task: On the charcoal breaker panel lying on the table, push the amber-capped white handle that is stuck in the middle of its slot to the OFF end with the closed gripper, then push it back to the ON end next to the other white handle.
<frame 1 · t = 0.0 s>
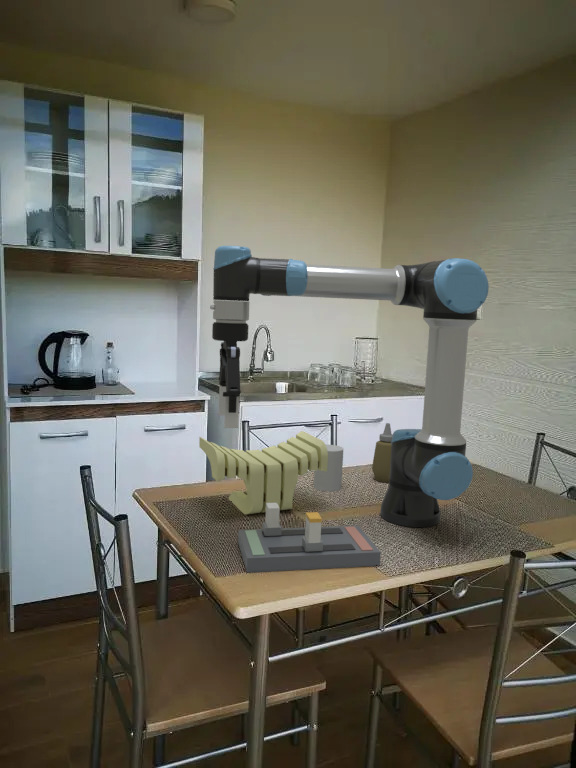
hand: (227, 421, 128), 28 cm above the table, tool pointing down, fingers open, 13 cm apart
squeeze bottle: (384, 480, 187), on the table
tripped handle: (312, 531, 124), point 7 cm above the table, slide at 0.0 cm
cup: (327, 488, 177), on the table
slatted curved stool: (261, 506, 159), on the table
breaker panel: (306, 553, 130), on the table
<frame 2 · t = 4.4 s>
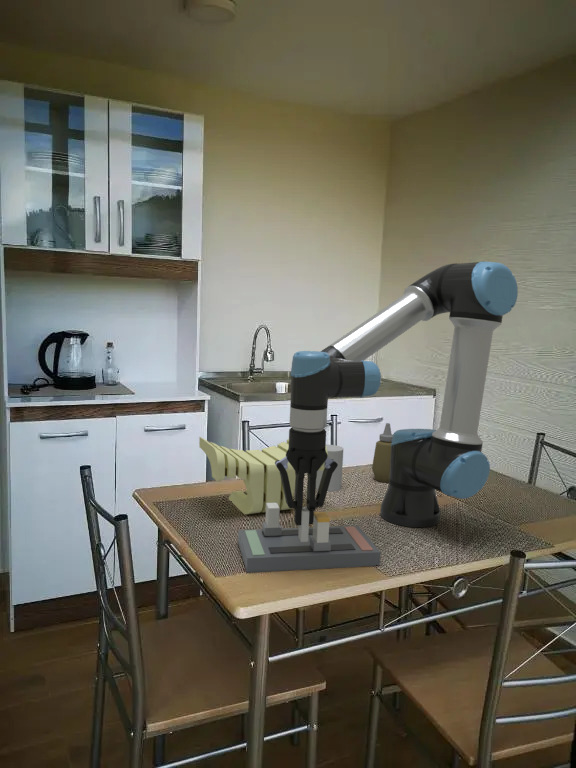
hand: (303, 539, 124), 5 cm above the table, tool pointing down, fingers closed
tripped handle: (320, 531, 125), point 7 cm above the table, slide at -1.7 cm, touching gripper
everything else where it was.
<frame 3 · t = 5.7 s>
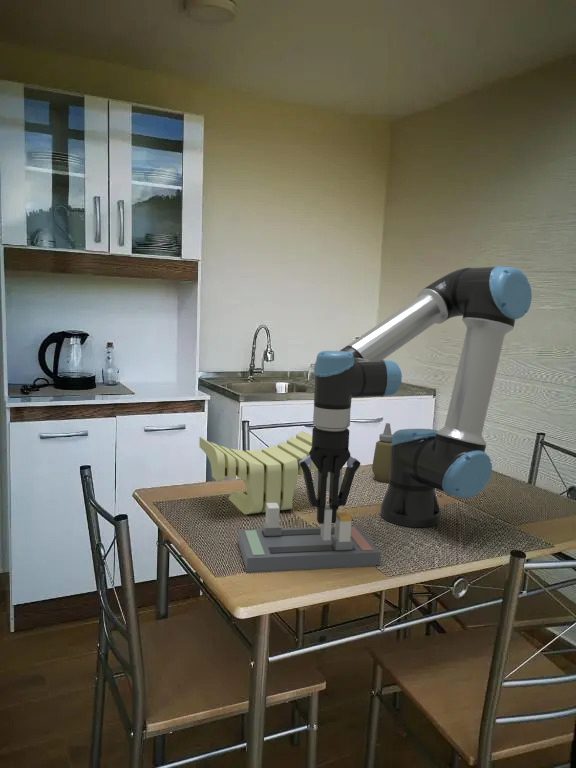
hand: (325, 537, 125), 5 cm above the table, tool pointing down, fingers closed
tripped handle: (342, 530, 126), point 7 cm above the table, slide at -6.4 cm, touching gripper
everything else where it was.
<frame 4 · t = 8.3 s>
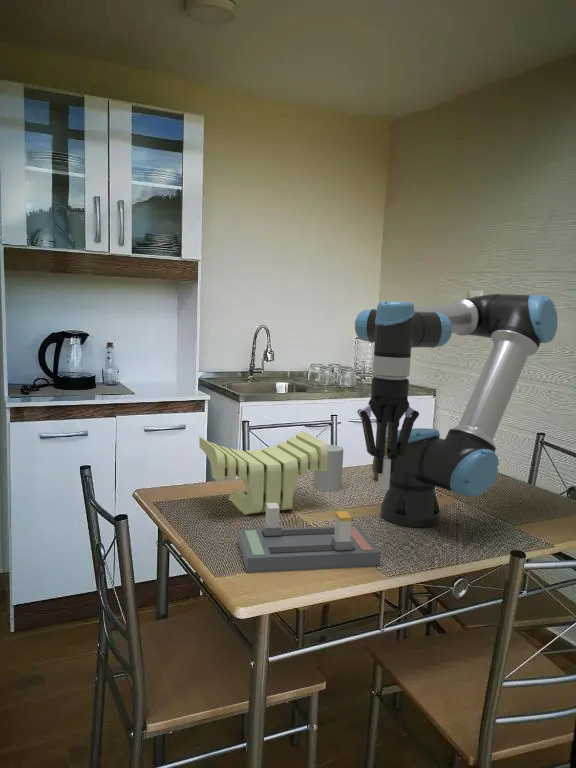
hand: (383, 487, 126), 16 cm above the table, tool pointing down, fingers closed
tripped handle: (342, 530, 126), point 7 cm above the table, slide at -6.4 cm
everything else where it was.
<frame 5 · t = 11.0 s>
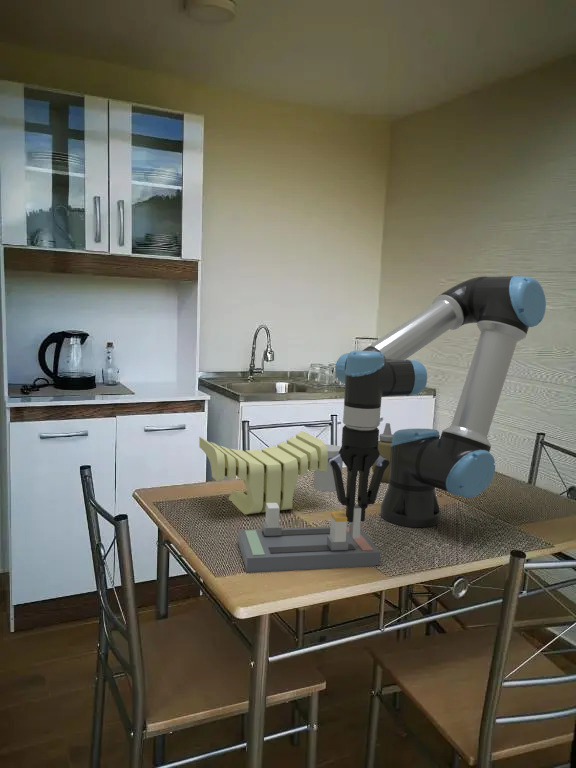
hand: (354, 535, 126), 6 cm above the table, tool pointing down, fingers closed
tripped handle: (338, 530, 126), point 7 cm above the table, slide at -5.4 cm, touching gripper
everything else where it was.
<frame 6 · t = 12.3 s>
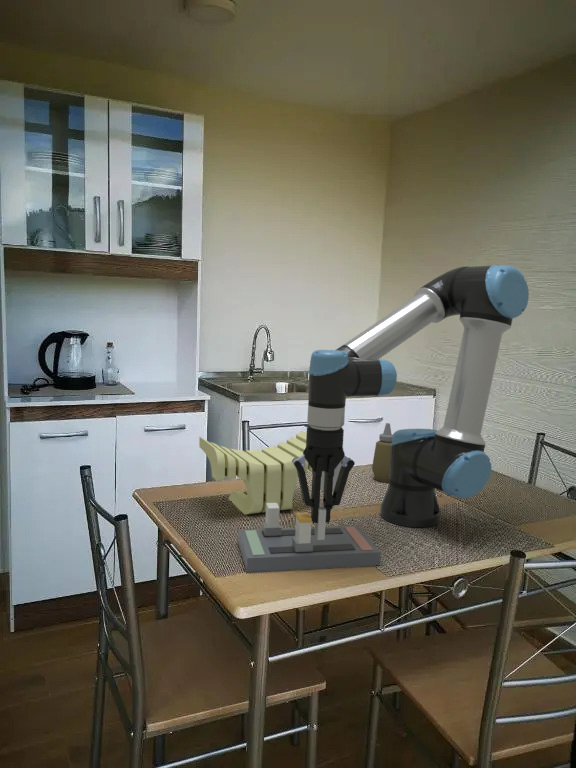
hand: (319, 537, 125), 6 cm above the table, tool pointing down, fingers closed
tripped handle: (303, 532, 124), point 7 cm above the table, slide at 2.1 cm, touching gripper
everything else where it was.
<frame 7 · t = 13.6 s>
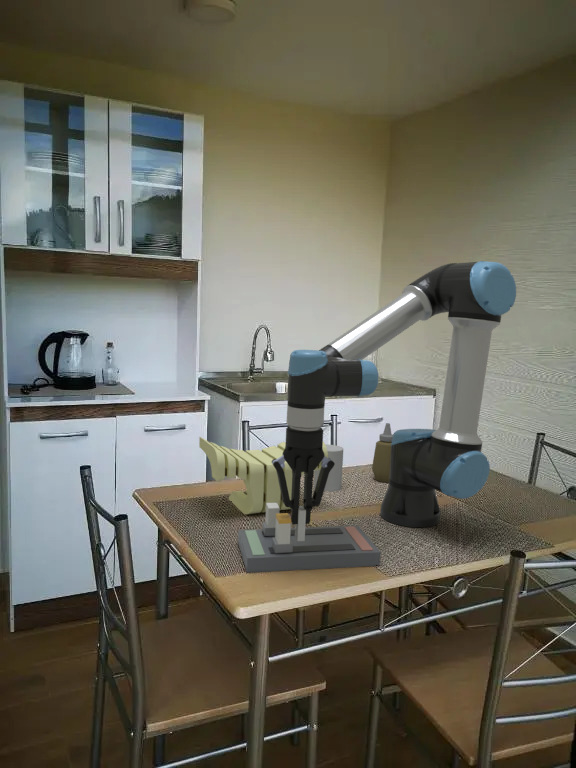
hand: (299, 538, 124), 5 cm above the table, tool pointing down, fingers closed
tripped handle: (282, 532, 123), point 7 cm above the table, slide at 6.4 cm, touching gripper
everything else where it was.
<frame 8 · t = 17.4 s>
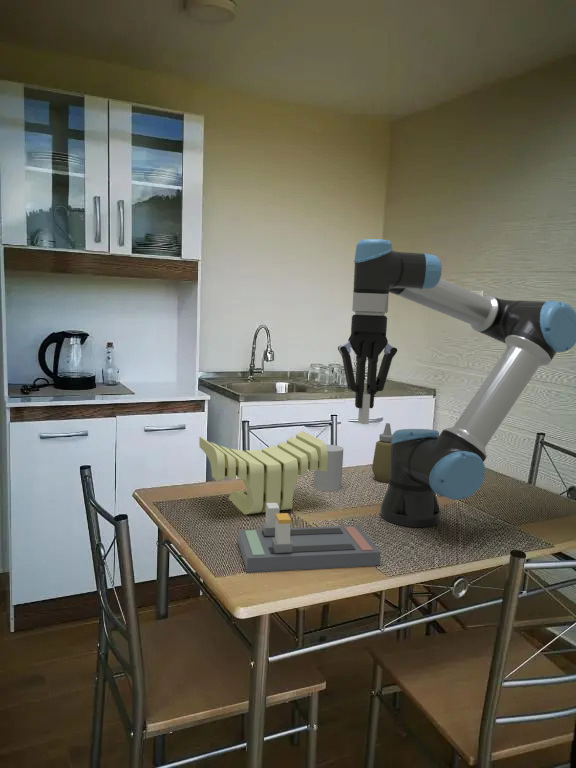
hand: (363, 422, 131), 28 cm above the table, tool pointing down, fingers closed
tripped handle: (282, 532, 123), point 7 cm above the table, slide at 6.4 cm
everything else where it was.
at the end: tripped handle slide at 6.4 cm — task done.
